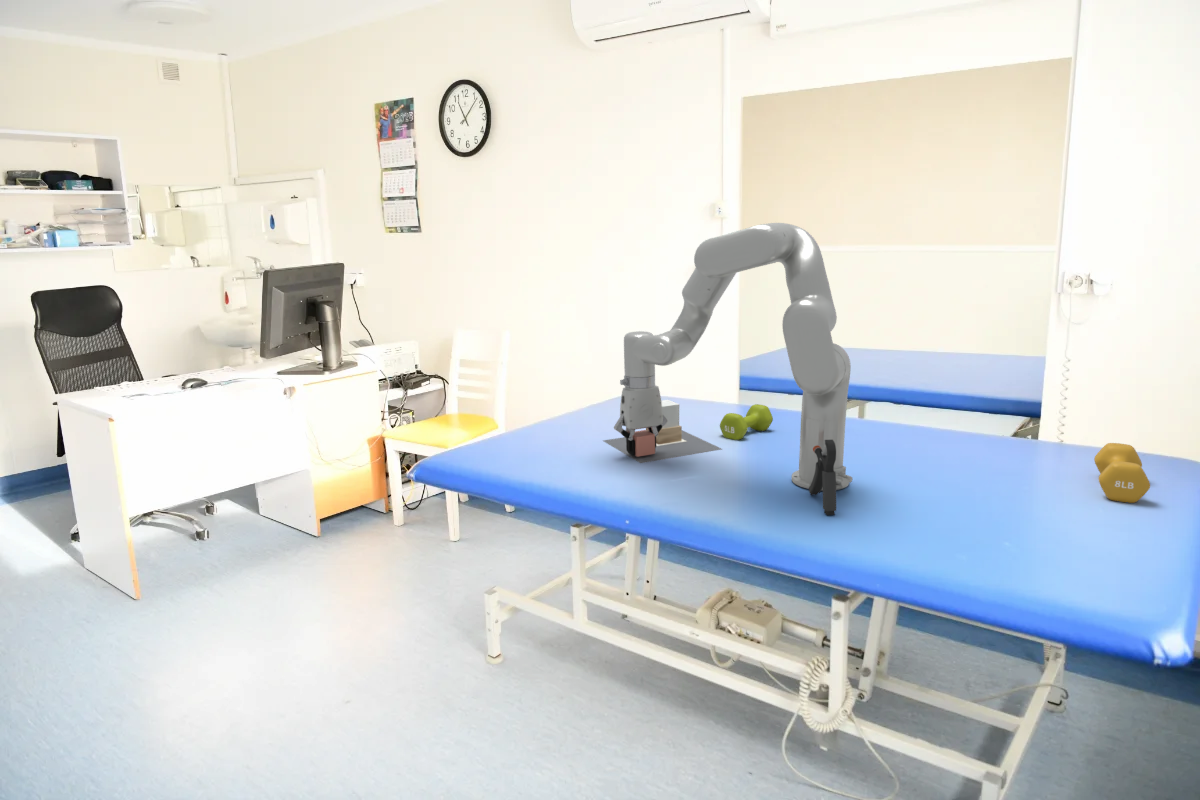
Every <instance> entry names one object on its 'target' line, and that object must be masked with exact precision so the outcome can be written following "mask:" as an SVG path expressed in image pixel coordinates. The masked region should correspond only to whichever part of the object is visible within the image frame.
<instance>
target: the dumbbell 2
mask: <svg viewBox="0 0 1200 800" xmlns="http://www.w3.org/2000/svg"><path fill="white" fill-rule="evenodd" d="M1093 460H1094V464H1095V466H1096V468H1097V470H1098V472H1099V476H1098V483H1099V485H1100V488H1101V489H1102V491H1103V493H1104V495H1105V496H1106V498H1107V499H1108V500H1110V501H1113V502H1118V501H1119V503H1126V502H1128V503H1129V504H1134V503H1137V502H1138V501H1140V500H1141V499H1142V498H1143V496H1144V495H1146V493H1147V492H1148V491H1149V490H1150V488H1151V483H1150V480H1149V479H1148V476H1147V474H1146V473H1145V470H1144V469H1143V463H1142V460H1141V458H1140V456H1139V454H1138V453H1137V451H1136V448H1135V447H1134V446H1132V445H1130V444H1126V443H1119V442H1118V443H1117V442H1115V443H1114V442H1108V443H1106V444H1105V445H1104V446H1103V447H1102V448H1101V449H1100V450H1099V451H1098V452H1097V454H1095V456H1094V459H1093ZM1128 503H1127V504H1128Z"/></svg>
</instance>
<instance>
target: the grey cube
mask: <svg viewBox="0 0 1200 800" xmlns="http://www.w3.org/2000/svg"><path fill="white" fill-rule="evenodd" d="M661 402H662V412H663V415H664V416H665V418H666V419H667V420H668V421H667V423H666V424H665V425H664V426H663V427H662V429H664V428H671V427H677V426H679V425H680V403H677V402H674V401H672V400H670V399H661Z"/></svg>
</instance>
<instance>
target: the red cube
mask: <svg viewBox="0 0 1200 800" xmlns="http://www.w3.org/2000/svg"><path fill="white" fill-rule="evenodd" d="M633 440H635V456H637V457H639V456H644V455H650V454H655V434H653V433H651V432H649V431H646V429H643V430H642V429H640V430H635V433H634V437H633Z"/></svg>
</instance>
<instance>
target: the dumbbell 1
mask: <svg viewBox="0 0 1200 800" xmlns="http://www.w3.org/2000/svg"><path fill="white" fill-rule="evenodd" d="M773 421H774V418H773V415H772V413H771V410H770V408H769V406H767V405H764V404H757V403H755V404H753V405H751V406H750V407H749V409H748V410H747V412H746V414H745V416H743V415H741V414H738V413H734V412H729V413H726V414H725V415H724V416H723V417H722V419H721V421H720V423H719V429H720V431H721V434H722V436H723V437H724V438H726V439H730V440H734V441H740V440H742V439H743V438H744V437H745V436H746V434H747V431H748V429H749V428H750V429H751V430H754V431H757V432H765V431H767V430H768V429H769V428H770V427H771V424H772V423H773Z"/></svg>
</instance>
